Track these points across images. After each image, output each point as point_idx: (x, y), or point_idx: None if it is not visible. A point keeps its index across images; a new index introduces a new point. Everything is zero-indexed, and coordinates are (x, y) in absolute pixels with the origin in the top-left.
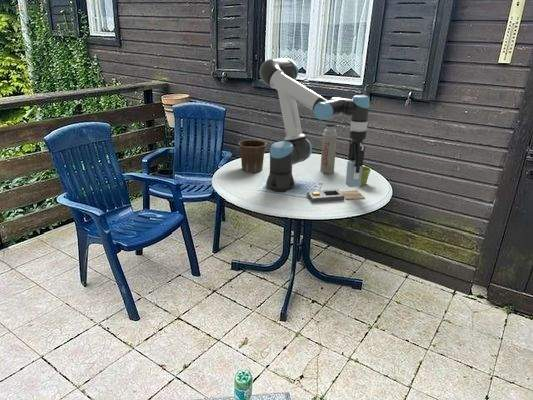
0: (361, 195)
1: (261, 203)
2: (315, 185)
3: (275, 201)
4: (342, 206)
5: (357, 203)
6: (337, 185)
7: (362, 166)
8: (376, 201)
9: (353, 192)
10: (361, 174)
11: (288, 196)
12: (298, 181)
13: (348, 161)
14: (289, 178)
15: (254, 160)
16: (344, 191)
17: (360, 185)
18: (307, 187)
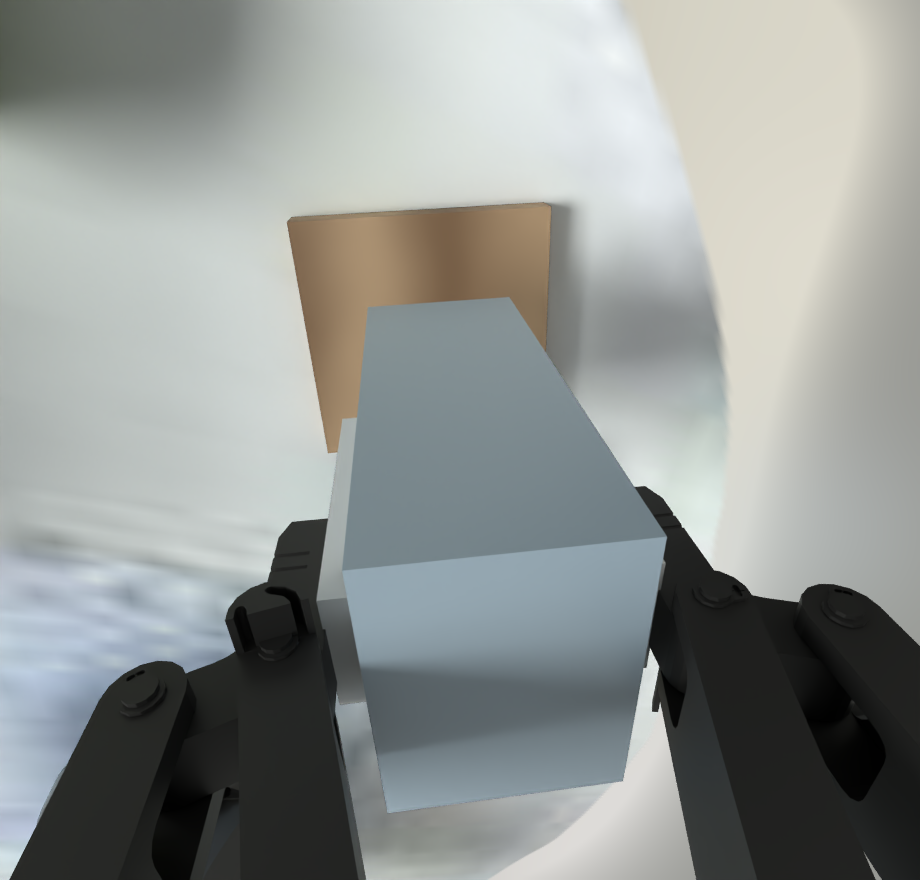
0: (470, 227)
1: (467, 858)
2: (98, 594)
3: (449, 814)
4: (632, 474)
5: (608, 322)
6: (51, 387)
7: (620, 472)
8: (614, 53)
9: (363, 297)
10: (560, 380)
11: (372, 763)
12: (10, 702)
13: (439, 804)
14: (219, 868)
15: None
16: (327, 392)
17: (512, 303)
18: (167, 655)
